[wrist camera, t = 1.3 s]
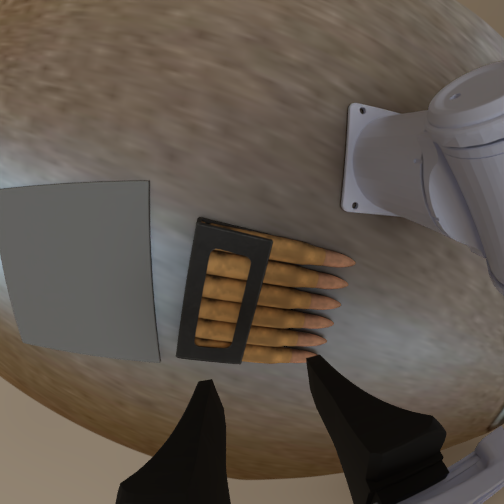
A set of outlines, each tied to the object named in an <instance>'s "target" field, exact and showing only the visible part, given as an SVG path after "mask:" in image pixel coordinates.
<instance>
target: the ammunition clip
mask: <svg viewBox="0 0 504 504" xmlns="http://www.w3.org/2000/svg"><path fill="white" fill-rule="evenodd" d="M217 250H219V251H217ZM223 251H224V252H223ZM228 252H230V253H228ZM233 253H236V254H233ZM269 259H271V260H276V261H271V260H269ZM277 261H282V262H288V263H294V264H300V265H308V264H312V265H320V266H321V265H322V266H329V267H349V266H353V265H355V261H353V260H352V259H351V258H349V257H347V256H345V255H343V254H340V253H337V252H334V251H330V250H326V249H323V248H319V247H315V246H313V245H310V244H308V243H305V242H302V241H297V240H292V239H287V238H282V237H277V236H273V235H269V234H267V233H263V232H259V231H255V230H250V229H246V228H242V227H238V226H234V225H230V224H226V223H222V222H218V221H214V220H209V219H205V218H201V217H199V218H198V219H197V223H196V229H195V234H194V240H193V245H192V251H191V257H190V263H189V269H188V275H187V281H186V287H185V294H184V300H183V307H182V314H181V321H180V329H179V336H178V344H177V352H176V357H177V358H182V359H190V360H199V361H209V362H219V363H231V364H241V362H242V361H246V362H257V363H269V364H272V363H305V362H306V358H309V357H312V356H316V355H317V354H315V353H312V352H309V351H304V350H299V349H291V348H285V347H280V346H316V345H321V344H324V343H326V342H327V340H326V339H324V338H323V337H320V336H318V335H314V334H310V333H305V332H297V331H292V330H287V329H284V328H309V329H317V328H325V327H330V326H332V325H334V323H333V322H332V321H331V320H329V319H327V318H324V317H321V316H318V315H313V314H307V313H303V312H297V311H293V310H290V309H294V308H301V309H316V310H325V309H334V308H337V307H340V306H341V304H340V303H339V302H338V301H336V300H334V299H332V298H329V297H326V296H322V295H318V294H312V293H308V292H303V291H299V290H297V289H294V288H291V287H310V288H321V289H338V288H343V287H346V286H348V283H347V282H346V281H344V280H342V279H340V278H338V277H336V276H333V275H330V274H326V273H321V272H317V271H314V270H309V269H306V268H303V267H301V266H298V265H293V264H288V263H282V262H277ZM266 283H267V284H266ZM273 284H274V285H273ZM279 285H281V286H279ZM285 286H287V287H285Z"/></svg>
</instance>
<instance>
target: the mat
mask: <svg viewBox="0 0 504 504" xmlns="http://www.w3.org/2000/svg"><path fill="white" fill-rule="evenodd" d="M0 254H1V260H2V265H3V270H4V275H5V280H6V284H7V289H8V293H9V297H10V301H11V305H12V308H13V312H14V316H15V319H16V322H17V326H18V329H19V332H20V335H21V338H22V341H23V343H27V344H31V345H36V346H41V347H46V348H51V349H56V350H61V351H67V352H73V353H79V354H86V355H92V356H100V357H107V358H115V359H124V360H133V361H144V362H155V363H160V353H159V345H158V337H157V328H156V318H155V307H154V296H153V282H152V266H151V246H150V181H108V182H84V183H65V184H51V185H38V186H26V187H16V188H6V189H0Z"/></svg>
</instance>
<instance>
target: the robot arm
mask: <svg viewBox="0 0 504 504" xmlns="http://www.w3.org/2000/svg"><path fill="white" fill-rule="evenodd" d="M360 108H362V109H363V111H364V113H363V114H361V113H360ZM354 202H356V207H355V208H352V204H353V203H354ZM341 207H342V209H343V210H344V211H347V212H355V213H367V214H378V215H388V216H398V217H403V218H406V219H408V220H411V221H413V222H415V223H418V224H420V225H422V226H425V227H427V228H429V229H431V230H434V231H436V232H438V233H440V234H443V235H445V236H447V237H449V238H452V239H454V240H456V241H458V242H460V243H462V244H465V245H468V246H469V248H470V250H471V251H472V252H473V253H475V254H477V255H479V256H481V257H483V258H487V259H486V261H487V266H488V272H489V275H490V279H491V281H492V282H493V284H494V286H495V287H496V288H497V290H498V291H499V292H500V293H501V294H502V295H504V61H499V62H494V63H491V64H487V65H484V66H482V67H479V68H477V69H474V70H472V71H470V72H468V73H466V74H464V75H462V76H460V77H458V78H457V79H455V80H454V81H452V82H451V83H449V84H448V85H446V86H445V87H444V88H443V89H441V90H440V91H439V92H438V93H437V94H436V95H435V96H434V97H433V99H432V100H431V102H430V104H429V108H428V110H424V111H417V112H410V113H404V114H400V113H397V112H393V111H389V110H385V109H381V108H377V107H373V106H368V105H364V104H359V103H352V104H350V106H349V108H348V125H347V141H346V155H345V168H344V179H343V189H342V199H341ZM306 362H307V369H308V377H309V384H310V390H311V393H312V396H313V399H314V402H315V405H316V408H317V410H318V412H319V414H320V416H321V418H322V420H323V422H324V424H325V426H326V428H327V430H328V433H329V435H330V437H331V439H332V441H333V443H334V445H335V448H336V450H337V453H338V456H339V459H340V462H341V465H342V468H343V471H344V474H345V477H346V480H347V483H348V486H349V490H350V493H351V496H352V500H353V503H354V504H482V503H483V502H485V501H486V500H487V499H489V498H490V497H491V496H492V495H494V494H495V493H496V492H497V491H499V490H500V489H501V488H502V487H504V429H503V427H502V426H499V427H498V428H497V429H495V430H494V431H493V432H491V433H490V434H489V435H487V436H486V437H485V438H483V439H482V440H481V441H480V442H479V443H478V445H477V446H476V448H475V451H474V452H472V453H470V454H469V455H467V456H466V457H464V458H463V459H462V460H460V461H458V462H457V463H455V464H453V465H451V466H450V467H448V468H447V467H446V466H445V464H444V463H443V461H442V459H443V456H442V454H441V452H440V449H441V447H442V445H443V443H444V441H445V438H446V431H445V429H444V428H443V427H442V425H441V424H440V423H439V422H438V421H437V420H436V419H435V418H434V417H433V416H431V415H426V414H421V413H416V412H412V411H408V410H405V409H401V408H399V407H396V406H394V405H391V404H388V403H386V402H384V401H382V400H380V399H378V398H376V397H374V396H372V395H370V394H368V393H367V392H365V391H363V390H362V389H360V388H359V387H357V386H356V385H354V384H353V383H352V382H350V381H349V380H348V379H346V378H345V377H344V376H343V375H341V374H340V373H339V372H338V371H336V370H335V369H334V368H333V367H332V366H331V365H330V364H329V363H328V362H327V361H326V360H325V359H324V358H323V357H322V356H321V355H316V356H312V357H309V358H306ZM116 504H231V502H230V496H229V489H228V482H227V474H226V423H225V415H224V408H223V406H222V403H221V401H220V398H219V396H218V393H217V391H216V388H215V386H214V383H213V381H212V379H211V380H205V381H199V382H198V384H197V386H196V389H195V391H194V393H193V396H192V398H191V400H190V402H189V404H188V406H187V408H186V410H185V412H184V414H183V416H182V418H181V419H180V421H179V423H178V424H177V426H176V428H175V429H174V431H173V432H172V434H171V435H170V437H169V438H168V439H167V441H166V442H165V443H164V445H163V446H162V447H161V448H160V449H159V451H158V452H157V453H156V454H155V455H154V456H153V457H152V458H151V459H150V460H149V461H148V462H147V463H146V464H145V465H144V466H143V467H142V468H140V469H139V470H138V471H137V472H136V473H134V474H133V475H132V476H130V477H129V478H127V479H126V480H125V481H123V482H122V483H120V487H119V490H118V494H117V499H116Z"/></svg>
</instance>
